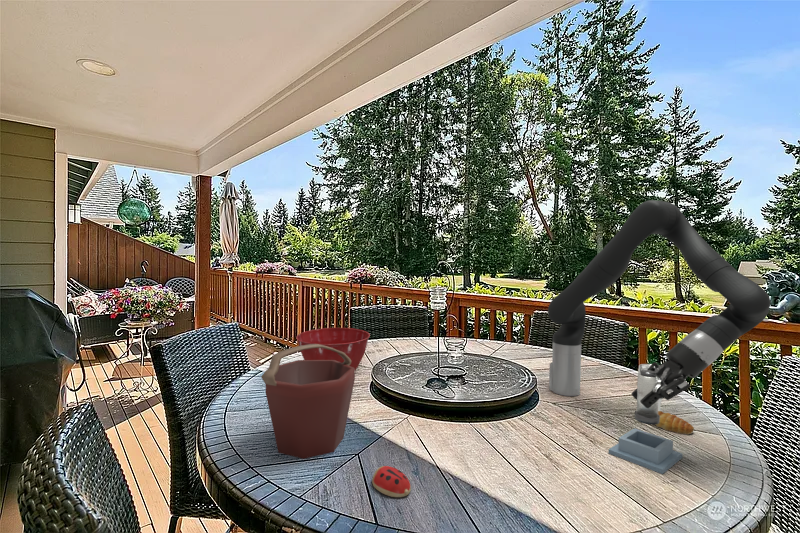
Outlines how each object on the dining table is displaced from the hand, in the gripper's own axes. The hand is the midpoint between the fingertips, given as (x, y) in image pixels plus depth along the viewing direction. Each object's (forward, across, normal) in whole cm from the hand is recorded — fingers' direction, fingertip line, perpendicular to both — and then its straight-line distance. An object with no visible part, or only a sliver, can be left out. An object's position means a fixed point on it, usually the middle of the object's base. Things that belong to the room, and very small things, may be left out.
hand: (639, 401), depth 102 cm
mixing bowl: (+73, -54, -55) cm, 107 cm away
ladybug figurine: (+50, +21, -31) cm, 63 cm away
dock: (+8, 0, +11) cm, 13 cm away
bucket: (+67, +3, -48) cm, 83 cm away
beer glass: (0, -25, +19) cm, 31 cm away
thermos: (+2, 0, +5) cm, 5 cm away
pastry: (-2, -18, +21) cm, 28 cm away
